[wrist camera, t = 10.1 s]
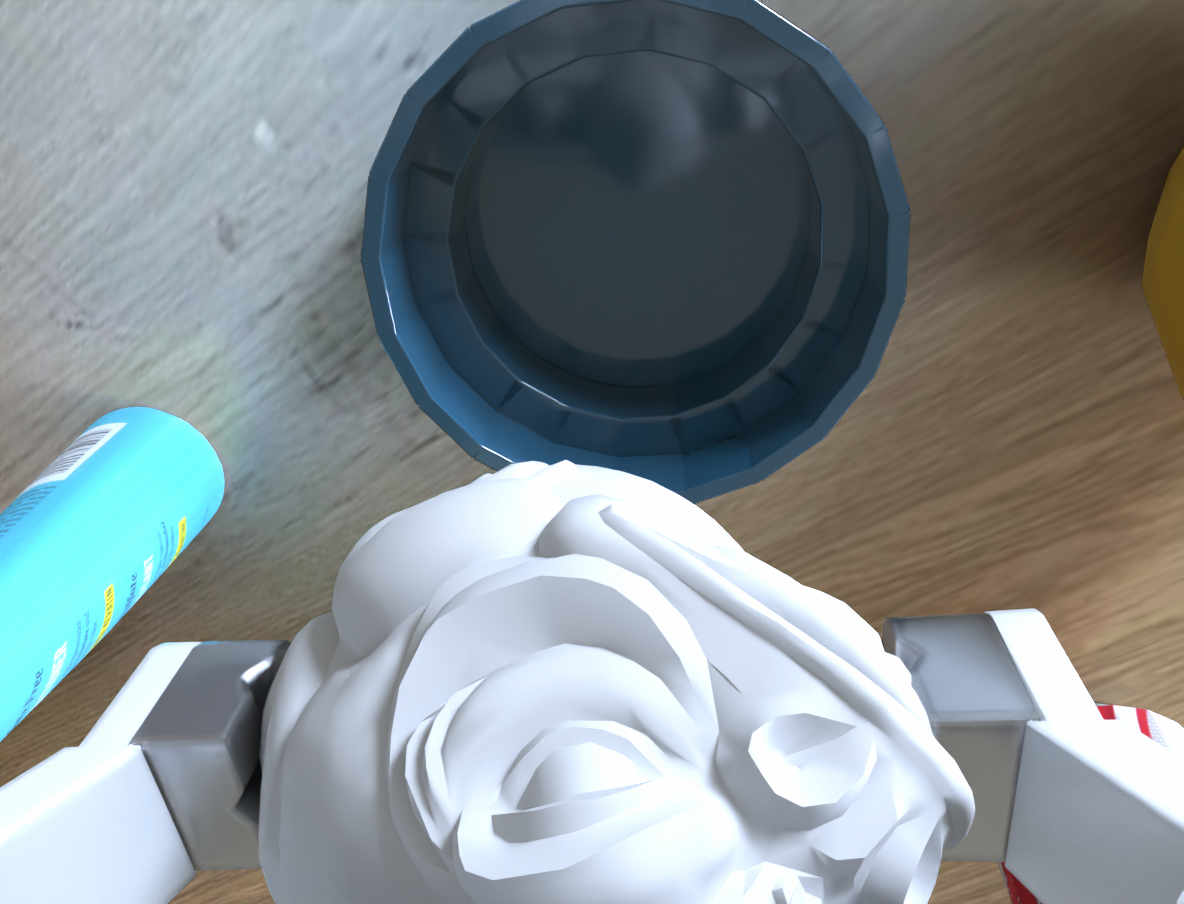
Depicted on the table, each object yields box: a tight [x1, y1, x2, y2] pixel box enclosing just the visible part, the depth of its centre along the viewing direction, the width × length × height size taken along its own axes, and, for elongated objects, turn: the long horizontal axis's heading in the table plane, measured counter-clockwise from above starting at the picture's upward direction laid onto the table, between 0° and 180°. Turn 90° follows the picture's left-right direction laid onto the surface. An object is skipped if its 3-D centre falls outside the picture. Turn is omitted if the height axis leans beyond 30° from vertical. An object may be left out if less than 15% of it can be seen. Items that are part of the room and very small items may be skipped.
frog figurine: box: [259, 460, 975, 904], centre depth 9 cm, size 6×7×7 cm
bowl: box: [361, 0, 910, 504], centre depth 25 cm, size 13×13×5 cm
